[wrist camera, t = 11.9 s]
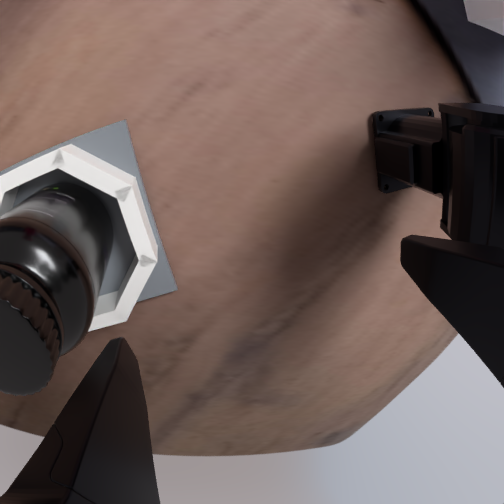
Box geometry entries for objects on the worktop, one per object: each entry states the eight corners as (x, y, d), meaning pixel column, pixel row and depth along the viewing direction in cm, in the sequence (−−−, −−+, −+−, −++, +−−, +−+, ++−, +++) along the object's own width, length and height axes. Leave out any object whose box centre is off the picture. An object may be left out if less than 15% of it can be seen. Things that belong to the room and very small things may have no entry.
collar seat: (126, 119, 17) (119, 120, 15) (177, 285, 23) (180, 309, 20) (-23, 184, 15) (-46, 196, 13) (40, 325, 21) (30, 350, 18)
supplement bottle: (125, 270, 21) (108, 413, 10) (39, 283, 19) (-22, 413, 8) (106, 169, 18) (36, 245, 7) (13, 190, 16) (-99, 276, 6)
